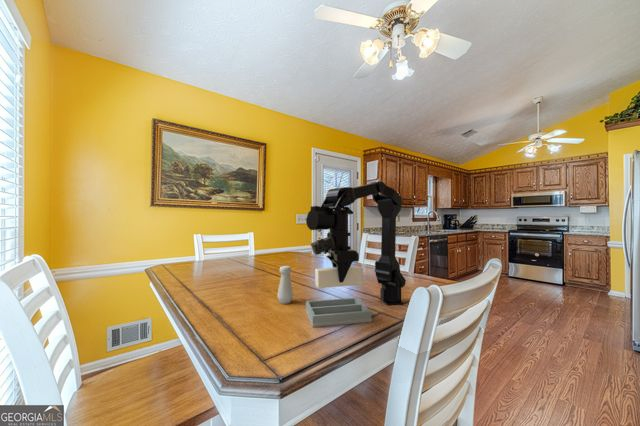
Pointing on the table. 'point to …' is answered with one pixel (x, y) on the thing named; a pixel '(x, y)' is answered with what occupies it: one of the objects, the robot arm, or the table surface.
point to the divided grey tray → (337, 312)
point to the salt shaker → (285, 286)
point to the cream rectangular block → (330, 277)
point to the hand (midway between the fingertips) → (339, 280)
